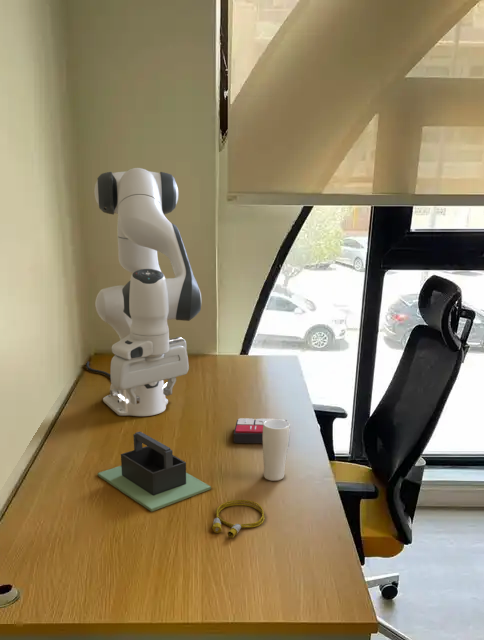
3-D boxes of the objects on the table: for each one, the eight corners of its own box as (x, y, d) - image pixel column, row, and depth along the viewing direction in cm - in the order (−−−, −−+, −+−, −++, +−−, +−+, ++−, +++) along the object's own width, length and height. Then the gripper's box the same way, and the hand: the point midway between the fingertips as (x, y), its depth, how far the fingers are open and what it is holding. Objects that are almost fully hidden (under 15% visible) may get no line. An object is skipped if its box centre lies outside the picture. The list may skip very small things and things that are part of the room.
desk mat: (97, 475, 177) (97, 472, 177) (155, 457, 188) (155, 454, 188) (151, 511, 161) (151, 508, 161) (210, 489, 172) (210, 486, 172)
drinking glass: (272, 468, 183) (275, 416, 177) (292, 477, 179) (295, 424, 172) (255, 476, 179) (257, 423, 172) (274, 485, 175) (277, 431, 168)
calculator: (237, 416, 206) (287, 417, 204) (237, 430, 208) (287, 430, 206) (233, 431, 196) (286, 431, 195) (233, 444, 198) (285, 445, 196)
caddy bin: (121, 475, 176) (119, 436, 171) (154, 464, 182) (152, 426, 177) (153, 495, 167) (151, 455, 162) (186, 483, 173) (185, 444, 168)
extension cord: (192, 520, 158) (192, 513, 157) (241, 499, 168) (241, 491, 167) (228, 542, 150) (228, 534, 149) (277, 518, 160) (278, 510, 159)
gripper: (178, 332, 168) (178, 386, 174) (105, 347, 155) (108, 404, 162) (194, 338, 163) (194, 393, 170) (120, 354, 151) (123, 412, 157)
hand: (151, 398), depth 166 cm, fingers open, 8 cm apart
